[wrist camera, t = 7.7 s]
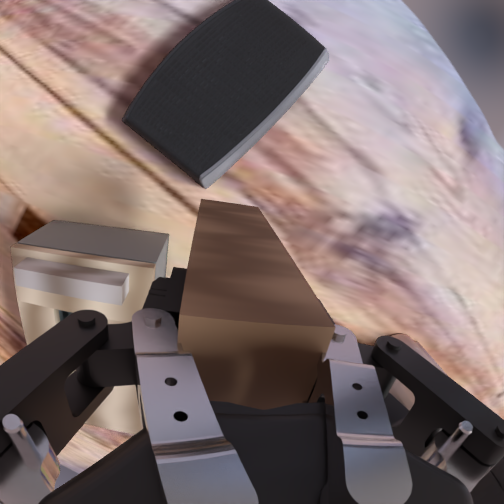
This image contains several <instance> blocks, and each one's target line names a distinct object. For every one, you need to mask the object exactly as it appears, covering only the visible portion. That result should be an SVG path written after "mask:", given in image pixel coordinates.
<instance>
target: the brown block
mask: <svg viewBox="0 0 504 504" xmlns="http://www.w3.org/2000/svg"><path fill="white" fill-rule="evenodd" d="M335 328H336V327H335V325H334V324H333V322H332V321H331V319H330V317H329V316H328V314H327V313H326V311H325V309H324V308H323V306H322V305H321V303H320V301H319V300H318V298H317V297H316V295H315V294H314V292H313V290H312V289H311V287H310V286H309V284H308V283H307V281H306V279H305V278H304V276H303V275H302V273H301V272H300V270H299V269H298V267H297V266H296V264H295V262H294V261H293V259H292V258H291V256H290V255H289V253H288V252H287V250H286V249H285V247H284V246H283V244H282V243H281V241H280V239H279V238H278V236H277V235H276V233H275V232H274V230H273V229H272V227H271V226H270V224H269V223H268V221H267V220H266V218H265V217H264V215H263V214H262V212H261V211H260V209H259V208H258V207H254V206H247V205H240V204H233V203H226V202H219V201H212V200H205V199H201V203H200V207H199V212H198V217H197V222H196V227H195V231H194V236H193V241H192V247H191V252H190V257H189V262H188V268H187V273H186V279H185V284H184V290H183V296H182V302H181V308H180V314H179V327H178V342H177V343H181V344H182V347H183V350H184V351H190V352H191V354H192V356H193V359H194V362H195V365H196V367H197V370H198V373H199V375H200V378H201V381H202V383H203V386H204V389H205V391H206V394H207V396H208V399H209V401H222V402H230V403H234V404H238V405H243V406H247V407H252V408H257V409H262V410H266V409H272V408H277V407H282V406H286V405H291V404H295V403H302V402H303V401H308V398H309V396H310V393H311V391H312V389H313V386H314V384H315V381H316V379H317V364H318V361H319V358H320V355H321V353H327V350H328V348H329V345H330V342H331V339H332V337H333V334H334V331H335Z"/></svg>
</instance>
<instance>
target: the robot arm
mask: <svg viewBox="0 0 504 504" xmlns="http://www.w3.org/2000/svg"><path fill="white" fill-rule="evenodd" d="M186 273H187V269H184V268H176V267H173V270H172V274H171V277H170V278H165V277H159V278H157V279H156V280H154V281H153V282H152V284H151V287H150V290H149V292H148V295H147V298H146V300H145V303H144V306H143V308H142V309H141V310H138V311H136V312H135V313H134V314H133V315H132V321H131V322H127V323H122V324H108V320H107V317H106V316H105V315H104V314H102V313H101V312H98V311H95V310H79V311H76V312H74V313H72V314H70V315H69V316H67V317H66V318H65V319H63V320H62V321H60V322H59V323H57V324H56V325H55V326H53V327H52V328H50V329H49V330H48V331H46V332H45V333H44V334H42V335H41V336H39V337H38V338H37V339H35V340H34V341H33V342H31V343H30V344H28V345H27V346H26V347H24V348H23V349H22V350H20V351H19V352H18V353H16V354H15V355H14V356H12V357H11V358H10V359H8V360H7V361H6V362H4V363H3V364H2V365H0V503H1V504H504V420H503V419H502V418H501V417H499V416H498V415H497V414H496V413H494V412H493V411H492V410H491V409H489V408H488V407H487V406H485V405H484V404H483V403H482V402H480V401H479V400H478V399H477V398H475V397H474V396H473V395H471V394H470V393H469V392H468V391H466V390H465V389H464V388H462V387H461V386H460V385H459V384H457V383H456V382H455V381H453V380H452V379H451V378H450V377H448V375H447V374H446V373H445V372H444V371H443V370H442V368H441V367H440V366H439V365H438V364H437V363H436V362H435V360H434V359H433V358H432V357H431V356H430V355H429V354H428V353H427V351H426V350H425V349H424V348H423V347H422V346H421V345H420V344H419V342H415V341H413V340H412V338H411V337H409V336H408V335H405V334H396V335H392V336H381V337H379V338H378V339H377V340H376V343H375V345H374V346H370V345H365V344H360V343H357V339H356V336H355V335H354V333H353V332H351V331H350V330H349V329H347V328H345V327H343V326H339V325H335V323H334V322H333V320H332V318H331V317H330V315H329V314H328V313H327V311H326V309H325V307H324V306H323V304H322V303H321V301H320V300H319V299H318V300H319V301H320V303H321V305H322V306H323V308H324V309H325V311H326V313H327V314H328V316H329V317H330V319H331V321H332V322H333V324H334V325H335V327H336V328H335V331H334V334H333V337H332V339H331V342H330V345H329V348H328V350H327V353H321V355H320V358H319V361H318V364H317V379H316V381H315V384H314V386H313V389H312V391H311V393H310V396H309V398H308V401H303V402H302V403H295V404H291V405H286V406H282V407H277V408H272V409H266V410H262V409H257V408H252V407H247V406H243V405H238V404H234V403H230V402H222V401H209V399H208V396H207V394H206V391H205V389H204V386H203V383H202V381H201V378H200V375H199V373H198V370H197V367H196V365H195V362H194V359H193V356H192V354H191V352H190V351H184V350H183V347H182V344H181V343H177V342H178V327H179V314H180V308H181V302H182V296H183V290H184V284H185V279H186ZM73 371H74V372H73ZM72 372H73V373H72ZM71 373H72V374H71ZM70 374H71V375H70ZM69 375H70V376H69ZM68 376H69V377H68ZM127 385H135V389H136V396H137V403H138V409H139V415H140V422H141V429H142V430H140V431H139V432H138V433H136V434H135V435H134V436H132V437H131V438H130V439H128V440H127V441H126V442H124V443H123V444H121V445H120V446H119V447H117V448H116V449H115V450H113V451H112V452H110V453H109V454H107V455H106V456H105V457H103V458H102V459H100V460H99V461H98V462H96V463H95V464H93V465H92V466H90V467H89V468H87V469H86V470H84V471H83V472H81V473H80V474H78V475H77V476H75V477H74V478H72V479H71V480H70V481H68V482H67V483H65V484H63V485H62V486H60V487H59V488H57V489H55V490H54V485H55V482H56V479H57V478H58V476H59V473H60V463H59V460H58V458H57V455H58V454H59V453H60V452H61V450H62V449H63V448H64V447H65V446H66V444H67V443H68V442H69V441H70V440H71V439H72V437H73V436H74V435H75V434H76V433H77V431H78V430H79V429H80V428H81V427H82V426H83V424H84V423H85V422H86V421H87V420H88V419H89V417H90V416H91V415H92V414H93V413H94V412H95V410H96V409H97V408H98V407H99V406H100V405H101V403H102V402H103V401H104V400H105V399H106V398H107V396H108V395H109V394H110V393H111V392H112V390H113V388H114V386H127Z"/></svg>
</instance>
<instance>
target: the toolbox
mask: <svg viewBox="0 0 504 504" xmlns="http://www.w3.org/2000/svg"><path fill="white" fill-rule="evenodd" d="M168 240H169V234H163V233H155V232H147V231H139V230H131V229H123V228H115V227H107V226H99V225H91V224H82V223H74V222H66V221H57V220H53V221H51V222H50V223H48V224H46V225H45V226H43V227H41V228H40V229H38V230H36V231H35V232H33V233H31V234H30V235H28V236H26V237H25V238H23V239H22V240H20V241H19V242H17V243H18V244H23V245H30V246H36V247H42V248H49V249H55V250H62V251H69V252H75V253H82V254H89V255H96V256H103V257H110V258H117V259H124V260H132V261H139V262H146V263H154V264H156V268H155V280H156V279H157V278H159V277H166V264H167V251H168ZM70 314H72V312H67V311H62V310H59V317H60V321H62V320H63V319H65V318H66V317H67V316H69V315H70Z"/></svg>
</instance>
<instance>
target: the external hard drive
mask: <svg viewBox="0 0 504 504" xmlns="http://www.w3.org/2000/svg"><path fill="white" fill-rule="evenodd" d="M328 61H329V53H328V51H327V49H326V48H325V47H324V46H323V45H322V44H321V43H319V41H317V40H316V39H315V38H314V37H313V36H312V35H311V34H309V33H308V32H307V31H306V30H305V29H304V28H302V27H301V26H300V25H299V24H297V23H296V22H295V21H294V20H293V19H291V18H290V17H289V16H288V15H286V14H285V13H284V12H283V11H281V10H280V9H279V8H277V7H276V6H275V5H273V4H272V3H271V2H269V1H268V0H234V1H232V2H231V3H229V4H227V5H226V6H224V7H223V8H221V9H220V10H218V11H217V12H215V13H214V14H213V15H211V16H210V17H209V18H207V19H206V20H205V21H203V22H202V23H201V24H200V25H198V26H197V27H196V28H195V29H194V30H192V31H191V32H190V33H189V34H188V35H187V36H186V37H185V38H184V39H183V40H181V41H180V42H179V43H178V44H177V45H176V46H175V47H174V49H173V50H172V51H171V52H170V53H169V54H168V55H167V56H166V57H165V58H164V60H163V61H162V62H161V63H160V64H159V65H158V67H157V68H156V69H155V70H154V72H153V73H152V74H151V75H150V77H149V78H148V79H147V81H146V82H145V83H144V85H143V86H142V88H141V89H140V91H139V92H138V94H137V95H136V97H135V98H134V100H133V101H132V103H131V104H130V106H129V108H128V109H127V111H126V113H125V115H124V117H123V118H122V121H123V122H124V123H125V124H126V125H128V126H129V127H130V128H131V129H132V130H134V131H135V132H136V133H138V134H139V135H140V136H141V137H143V138H144V139H145V140H146V141H147V142H149V143H150V144H151V145H152V146H154V147H155V148H156V149H157V150H159V151H160V152H161V153H162V154H164V155H165V156H166V157H167V158H169V159H170V160H171V161H172V162H173V163H174V164H176V165H177V166H178V167H179V168H180V169H182V170H183V171H184V172H186V173H187V174H188V175H189V176H190V177H192V178H193V179H194V180H195V181H196V182H197V183H199V184H200V185H201V186H202V187H204V188H205V189H206V188H208V187H209V186H211V185H212V184H213V183H214V182H215V181H216V180H218V179H219V178H220V177H221V176H222V175H223V174H224V173H225V172H226V171H227V170H228V169H230V168H231V167H232V166H233V165H234V164H235V163H236V162H237V161H238V160H239V159H240V158H241V157H242V156H243V155H244V154H245V153H246V152H247V151H248V150H249V149H250V148H252V147H253V146H254V145H255V144H256V143H257V142H258V141H259V140H260V139H261V138H262V137H263V136H264V135H265V134H266V133H267V131H268V130H269V129H271V127H272V126H273V125H274V124H275V123H276V122H277V121H278V120H279V119H280V118H281V117H282V116H283V115H284V114H285V113H286V112H287V110H288V109H289V108H290V107H291V106H292V105H293V104H294V103H295V102H296V101H297V99H298V98H299V97H300V96H301V95H302V94H303V93H304V91H305V90H306V89H307V88H308V87H309V86H310V84H311V83H312V82H313V81H314V80H315V78H316V77H317V76H318V75H319V73H320V72H321V71H322V69H323V68H324V67H325V65H326V64H327V63H328Z"/></svg>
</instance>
